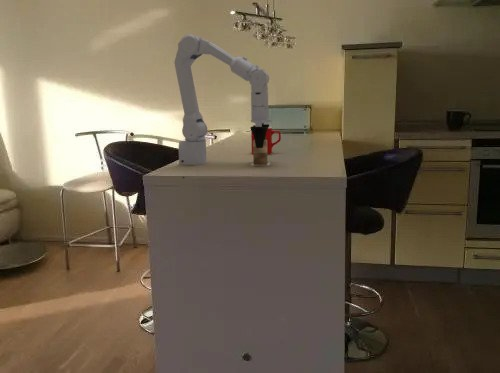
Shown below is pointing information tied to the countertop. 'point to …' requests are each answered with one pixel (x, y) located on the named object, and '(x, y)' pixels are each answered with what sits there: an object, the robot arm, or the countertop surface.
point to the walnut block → (260, 158)
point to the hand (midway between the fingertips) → (260, 146)
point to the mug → (268, 139)
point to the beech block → (260, 150)
